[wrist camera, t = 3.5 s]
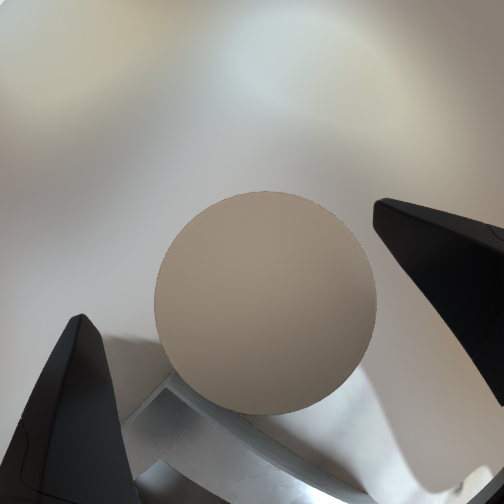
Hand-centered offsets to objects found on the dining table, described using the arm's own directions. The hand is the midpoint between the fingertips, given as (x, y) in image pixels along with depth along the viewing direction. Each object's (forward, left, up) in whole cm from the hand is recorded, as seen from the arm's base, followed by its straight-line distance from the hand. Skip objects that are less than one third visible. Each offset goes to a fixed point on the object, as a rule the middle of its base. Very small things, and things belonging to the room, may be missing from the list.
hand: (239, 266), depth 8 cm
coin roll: (-1, 0, -8) cm, 8 cm away
